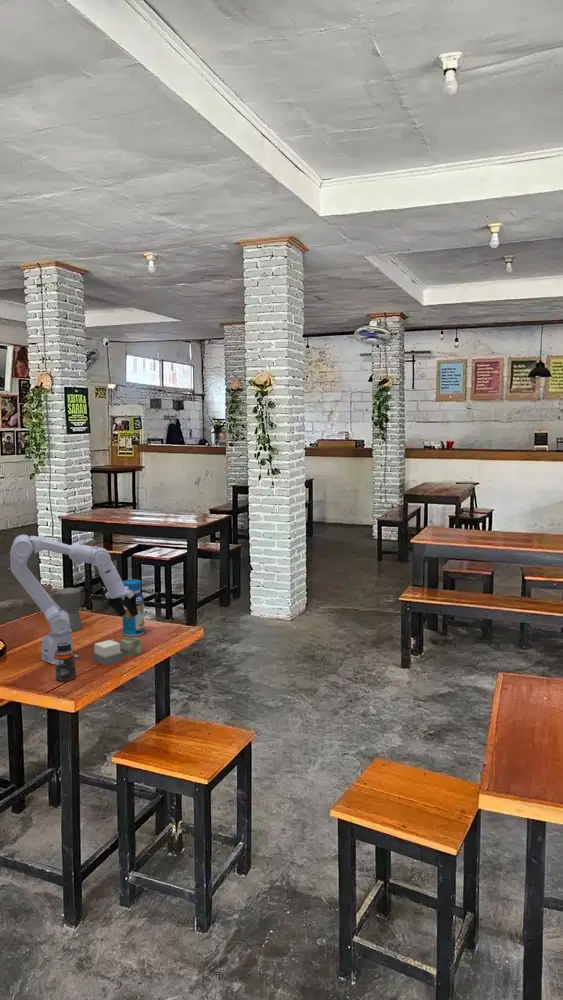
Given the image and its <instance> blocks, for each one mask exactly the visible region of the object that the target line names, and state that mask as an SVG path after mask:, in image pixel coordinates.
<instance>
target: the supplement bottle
mask: <svg viewBox="0 0 563 1000" xmlns="http://www.w3.org/2000/svg"><path fill="white" fill-rule="evenodd" d="M57 648H58V649H57V650H56V651H55V664H54V666H55V668H54V669H55V679H56V680H57V681H58V682H68V681H72V680H74V679H75V678H76V677H77V674H76V671H77V670H76V660H75V659H76V658H75V655H76V653H75V650H74V649H72V648H71V643H70V642H60V643H58V644H57Z"/></svg>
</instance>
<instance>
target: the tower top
mask: <svg viewBox="0 0 563 1000" xmlns="http://www.w3.org/2000/svg"><path fill="white" fill-rule="evenodd" d="M93 647H94V649H93V650H94V653H97V654H99V655H102V656H104V657H105V656H109V655H112V654H116V653H119V652H120V642H117V641H115V640H112V639H107V640H103V641H99V642H95V643H94V645H93Z"/></svg>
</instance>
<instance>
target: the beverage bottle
mask: <svg viewBox="0 0 563 1000" xmlns="http://www.w3.org/2000/svg"><path fill="white" fill-rule="evenodd" d="M122 582H123V584H124V586H128V589H129V590H132V592H133V594H136V595H137V596H136V605H137V611H138V614H137V615H136V616H134V617H132V616H131V614H130V613H129V611H128V609H127V608H126V607H125V606H124V605H123V606H124V609H125V612H126V614H125V615H123V616H122V618H121V620H122V635H124V636H125V637H138V636H141V635H143V634H144V633H146V632H145V631H146V628H145V603H144V600H145V599H144V595H143V594H142V592H141V590H142V581H141V580H139V579H126V580H122ZM123 599H125V598H124V597H122V600H123Z"/></svg>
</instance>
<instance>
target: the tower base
mask: <svg viewBox="0 0 563 1000" xmlns="http://www.w3.org/2000/svg"><path fill="white" fill-rule="evenodd" d="M124 656H125V655H123V652H121V651H120V652H119V653H116V654H112V655H109V656H105V657H104V656H102V655H99V654H97V653H95V652H93V662H95V663H98V664H100V665H103V666H105V667H106V666H109V665H112V664H116V663H118V662H122V661H124Z"/></svg>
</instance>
